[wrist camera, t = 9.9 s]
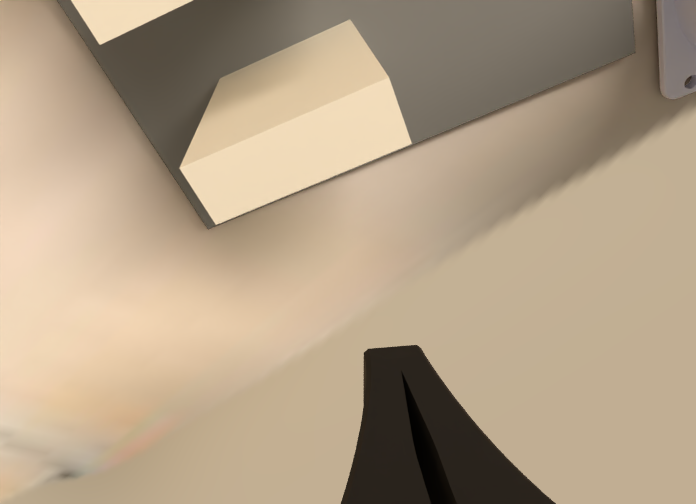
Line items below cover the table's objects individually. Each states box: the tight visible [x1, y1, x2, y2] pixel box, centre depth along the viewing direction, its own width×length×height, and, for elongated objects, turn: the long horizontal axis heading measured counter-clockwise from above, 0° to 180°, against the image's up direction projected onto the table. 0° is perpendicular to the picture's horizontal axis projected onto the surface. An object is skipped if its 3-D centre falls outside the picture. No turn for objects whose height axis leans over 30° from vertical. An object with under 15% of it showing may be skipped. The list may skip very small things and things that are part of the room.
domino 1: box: [179, 20, 412, 225], centre depth 15 cm, size 5×2×8 cm, turn 112°
